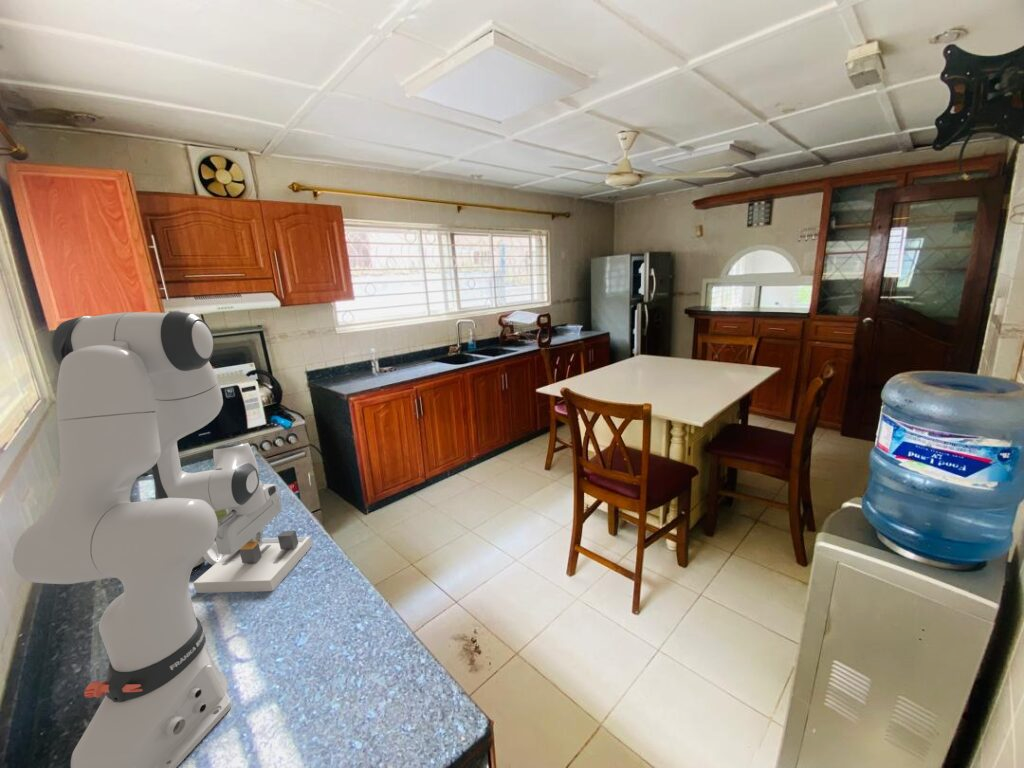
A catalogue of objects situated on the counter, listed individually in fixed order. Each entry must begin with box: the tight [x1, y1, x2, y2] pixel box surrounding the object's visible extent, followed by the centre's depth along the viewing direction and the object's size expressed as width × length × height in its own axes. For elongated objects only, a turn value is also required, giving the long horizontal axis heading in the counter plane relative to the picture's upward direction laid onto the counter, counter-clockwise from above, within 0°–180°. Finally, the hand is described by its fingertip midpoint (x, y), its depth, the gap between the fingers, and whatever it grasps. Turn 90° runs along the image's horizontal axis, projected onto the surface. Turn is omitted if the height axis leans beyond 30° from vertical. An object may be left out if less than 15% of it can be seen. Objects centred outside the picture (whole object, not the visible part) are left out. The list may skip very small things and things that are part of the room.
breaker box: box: [192, 536, 313, 594], centre depth 109 cm, size 18×20×3 cm
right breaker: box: [277, 530, 298, 549], centre depth 111 cm, size 2×4×4 cm, turn 86°
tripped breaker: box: [239, 542, 262, 563], centre depth 106 cm, size 2×4×4 cm, turn 86°
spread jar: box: [191, 540, 223, 573], centre depth 111 cm, size 12×11×12 cm
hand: (257, 547), depth 109 cm, fingers closed
